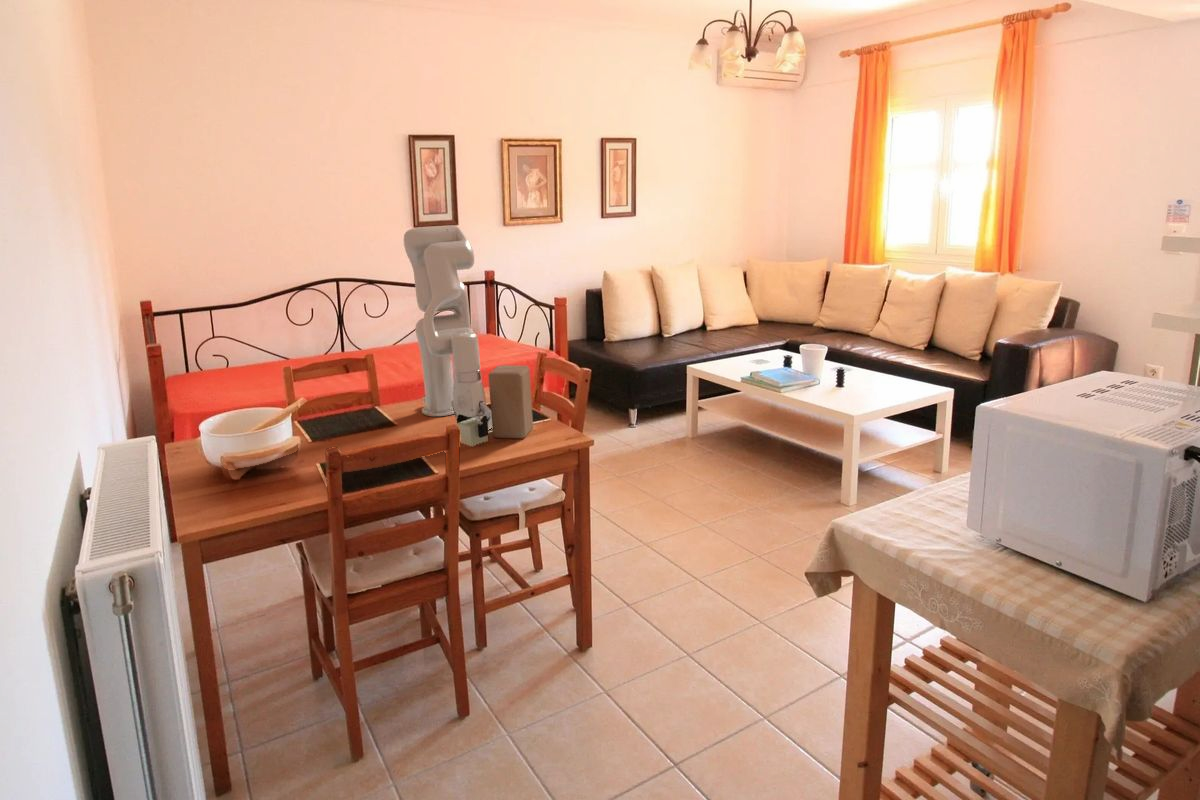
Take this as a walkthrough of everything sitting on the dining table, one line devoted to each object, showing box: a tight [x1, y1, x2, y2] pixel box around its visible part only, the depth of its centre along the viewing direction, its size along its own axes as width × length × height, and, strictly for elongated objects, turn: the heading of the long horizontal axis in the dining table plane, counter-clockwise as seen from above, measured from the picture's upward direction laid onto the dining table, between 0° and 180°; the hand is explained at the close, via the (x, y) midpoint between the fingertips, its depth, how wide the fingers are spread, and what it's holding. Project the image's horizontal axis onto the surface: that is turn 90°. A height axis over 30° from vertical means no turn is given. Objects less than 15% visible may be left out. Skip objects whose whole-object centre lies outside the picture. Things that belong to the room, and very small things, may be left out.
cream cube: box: [474, 415, 492, 431], centre depth 231 cm, size 5×5×5 cm
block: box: [487, 364, 534, 439], centre depth 223 cm, size 10×10×20 cm
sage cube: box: [456, 418, 489, 447], centre depth 219 cm, size 6×6×6 cm
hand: (473, 433), depth 219 cm, fingers open, 9 cm apart
